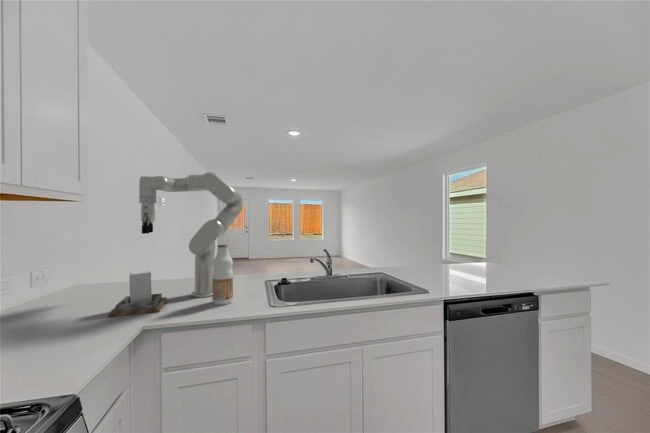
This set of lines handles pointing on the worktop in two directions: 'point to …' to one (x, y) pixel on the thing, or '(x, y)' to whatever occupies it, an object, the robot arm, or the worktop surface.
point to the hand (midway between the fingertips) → (147, 232)
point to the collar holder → (138, 306)
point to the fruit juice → (222, 277)
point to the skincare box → (140, 287)
